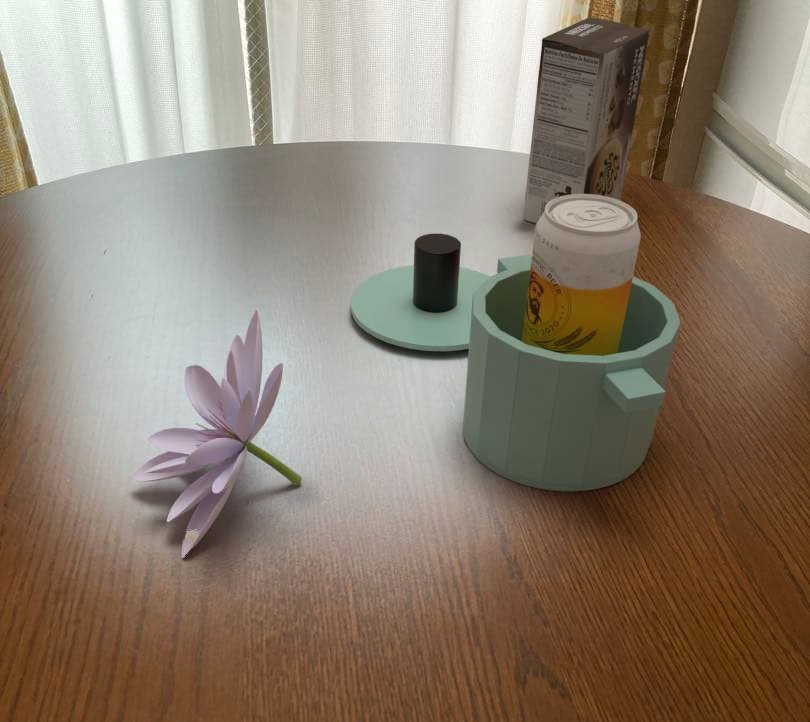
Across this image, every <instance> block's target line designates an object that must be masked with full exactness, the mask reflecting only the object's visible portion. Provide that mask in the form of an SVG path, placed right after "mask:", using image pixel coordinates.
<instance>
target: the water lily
mask: <svg viewBox="0 0 810 722" xmlns="http://www.w3.org/2000/svg"><path fill="white" fill-rule="evenodd" d="M260 318H261V317H260V314H259V310H258V308H256V309H255V311H254V313H253V315H252V317H251V319H250V321H249V325H248V327H247V331H246V333H245V339H244V341H243V339H242V337H241V335H238V334H236V335H235V336H234V338H233V340H232V342H231V344H230V347H229V350H228V353H227V356H226V360H225V365H224V374H223V376H222V377H221V382H218V380H217V379H216V378H215V376H214V375H212V374H211V373H210V372H209V371H208V370H207V369H205V368H204V367H203V366H201V365H198V364H194V365H188V366H186V367H185V371H184V387H185V392H186V396H187V398H188V401H189V402H190V404H191V406H192V407H193V408H194V410H195V411H196V413H197V414H198V415H199V416H200V417H201V418H202V419H203V420H204V421H205V422H206V423H207V424H209V425H210V426H211V427H213V428H208V427H206V426H204V425H203V424H200V423H197V422H195V425H197V426H199V427H202V428H203V429H196V428H189V427H188V428H187V427H174V428H173V427H172V428H166V429H162V430H159V431H157V432H154V433H153V434H151V435H150V436H149V437H147V441H148V443H149V444H151V445H152V446H153V447H155V448H157V449H159V450H162V451H165V452H163V453H161V454H159V455H157V456H155V457H153V458H152V459H150V460H148V461H147V462H145V463H144V464H142V465H141V466H140V467H139V468H138V469H137V470H136V471H135V472H134V473H133V474H132V476H131V480H132V481H134V482H144V483H145V482H160V481H165V480H166V481H167V480H170V479H175V478H180V477H183V476H187V475H190V474H192V473H196V472H199V471H201V470H203V469H206V468H207V467H209V466H212V465H214V464H217V463H218V464H217V465H216V466H214V467H213V468H211V469H210V470H208V471H207V472H205V473H204V474H203V475H202V476H200V477H198V478H197V479H196V480H195V481H193V482H191V484H189V485H188V486H187V488H186V489H184V490H183V491H182V493H181V494H179V496H178V498H176V500H175V502H174V503H173V504H172V506H171V509H170V510H169V512H168V515H167V518H166V523H170V522H172V521H174V520H176V519H177V518H179V517H180V516H182V515H183V514H185V513H187V512H188V511H190V510H191V509H192V508H194V507H195V506H196V505H197V504H198V505H197V506H196V508H195V510H194V511H193V514H192V516H191V518H190V520H189V522H188V525H187V527H186V530H185V532H187V531H191V530H195V529H197V530H195V531H197V532H198V531H199V532H198V533H199V536H198V538H197V539H196V541H195V542H194V544H193V546H192V547H191V542H190V541H189V540H183V539H182V544H181V559H184V558H185V557H186V556H187V555H188V554H189V553H188V551H190V550H191V549H192V548H193V549H194V548H195V547H196V546H197V545H198V544H199V542H200V541H201V540H202V539H203V537H204V536H205V535H206V534H207V532H208V531H209V530H210V528H211V526H212V525H213V524H214V522H215V521H216V520H217V518H218V516H219V514H220V513H221V511H222V510H223V508H224V506H225V504H226V502H227V501H228V498H229V497H230V494H231V493H232V490H233V488H234V486H235V483H236V481H237V479H238V477H239V476H240V474H241V472H242V470H243V468H244V467H245V464H246V461H247V457H248V452H249V453H250V454H252V455H253V456H255V457H256V458H257V459H259V460H261V461H262V462H264V463H265V464H266V465H268V466H269V467H271V468H272V469H274V470H275V471H276V472H278V473H279V474H281V475H282V476H283V477H284V478H286V480H288V481H290V483H292V484H293V485H294V486H297V487H298V486H299V485H300V484H301V482H302V479H303V478H302V477H301V476H300V475H299V474H298V473H297V472H296V471H294V470H293V469H291V468H290V467H289V466H288V465H286V464H284V462H282V461H281V460H279V459H277V458H276V457H275V456H273V455H272V454H270V453H269V452H267V451H265V450H264V449H262V448H260V447H259V446H257V445H255V444H254V443H253V442H251V441H252V440H253V439H254V438H255V437H256V436H257V435H258V433H259V432H260V431H261V430H262V428H263V427H264V425H265V424H266V422H267V420H268V419H269V417H270V415H271V413H272V411H273V408H274V406H275V403H276V400H277V398H278V396H279V391H280V388H281V384H282V379H283V371H284V363H282V362H281V363H278V364H277V365H276V366H275V367H274V368H273V369H272V371H271V372H270V374H269V375H268V377H267V380H266V381H265V383H264V386H263V390H262V394H261V398H260V393H261V386H262V385H261V384H262V376H263V375H262V374H263V339H262V338H263V335H262V334H263V333H262V327H261V319H260ZM220 383H221V384H220ZM259 398H260V399H259ZM259 400H260V401H259ZM294 483H295V484H294ZM189 529H191V530H189ZM194 546H195V547H194ZM190 547H191V549H190ZM193 549H192V550H193ZM192 550H191V551H192ZM191 551H190V552H191ZM187 553H188V554H187ZM186 554H187V555H186ZM185 555H186V556H185Z"/></svg>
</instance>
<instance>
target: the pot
mask: <svg viewBox="0 0 810 722" xmlns="http://www.w3.org/2000/svg"><path fill="white" fill-rule="evenodd" d="M531 261H532V255H530V254H523V255H517V256H516V255H515V256H509V257H503V258H498V259H497V266H496V267H497V268H496V273H495V274H494V275H490V276H491V277H489V278H487V279H486V280H485V282H484V283H483V284H482V285H481V286H480V287H479V288H478V289H477V290H476V291H475V292H474V294H473V299H472V312H471V325H470V338H469V349H468V353H467V365H466V377H465V378H466V379H465V391H464V402H463V403H464V404H463V405H464V406H463V422H462V423H463V425H462V432H463V437H464V441H465V443H466V446H468V449H469V452H471V453H472V455H473V456H474V457H475V458H476V459H477V460H478V461H479V462H480V463H481V464H482V465H483V466H485V467H486V468H487V469H489V470H490V471H492V472H494V473H495V474H497V475H499V476H500V477H503V478H505V479H507V480H510V481H511V482H514V483H517V484H520V485H523V486H527V487H530V488H534V489H539V490H545V491H554V492H585V491H586V492H587V491H592V490H599V489H602V488H607V487H610V486H612V485H615V484H617V483H619V482H621V481H623V480H625V479H627V478H629V477H630V476H631V475H632V474H635V472H636V471H637V470H638V469H639V468H640V467H641V466H642V464H643V463H644V461H645V460H646V457H647V454H648V451H649V448H650V446H651V444H652V442H653V441H652V440H653V436H654V433H655V428H656V425H657V420H658V417H659V413H660V409H661V407H663V404H664V400H665V397H666V390H665V388H666V384H667V381H668V376H669V372H670V368H671V364H672V360H673V356H674V354H675V353H674V352H675V349H676V344H677V340H678V336H679V332H680V330H681V329H680V328H681V321H680V317H679V313H678V311H677V308H676V305H675V303H674V302H673V301H672V300H671V299H670V298H669V297H668V296H667V295H666V294H664V293H663V292H662V291H660V290H659V289H658V288H657V287H656V286H655V285H653V284H651V283H649V282H647V281H645V280H643V279H640V278H638V277H636V276H634V275H633V279H632V284H631V289H630V294H629V299H628V303H627V308H626V313H625V318H624V323H623V328H622V333H621V338H620V343H619V348H618V353H616V354H611V355H605V356H595V355H575V354H561V353H557V352H553V351H549V350H545V349H541V348H537V347H533V346H530V345H527V344H525V343H523V342H522V336H523V327H524V319H525V311H526V302H527V294H528V286H529V278H530V269H531Z"/></svg>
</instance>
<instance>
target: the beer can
mask: <svg viewBox="0 0 810 722" xmlns="http://www.w3.org/2000/svg"><path fill="white" fill-rule="evenodd" d="M639 226H640V225H639V223H638V213H637V211H636V209H635V208H633V206H631V205H629V204H628V203H626V202H624V201H622V200H621V201H620V200H617V199H614V198H610V197H606V196H601V195H593V194H572V195H565V196H561V197H557V198H555V199H553V200H551V201H550V202H548V203H547V205H546V206H545V211H544V213H543V214H542V216H541V217H540V219H539V221H538V222H537V224H536V223H535V228H534V237H533V245H532V253H531V257H532V261H531V269H530V278H529V286H528V294H527V302H526V311H525V319H524V327H523V336H522V342H523V343H525V344H527V345H530V346H533V347H537V348H541V349H545V350H549V351H553V352H557V353H561V354H575V355H595V356H605V355H611V354H616V353H618V348H619V343H620V338H621V333H622V328H623V323H624V318H625V313H626V308H627V303H628V299H629V294H630V289H631V284H632V279H633V276H634V274H635V268H636V264H637V259H638V254H639V248H640V244H641V239H642V233H641V230H640V227H639Z"/></svg>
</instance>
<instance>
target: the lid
mask: <svg viewBox="0 0 810 722" xmlns="http://www.w3.org/2000/svg"><path fill="white" fill-rule="evenodd" d="M413 245H414V247H413V264H412V265H405V266H399V267H395V268H391V269H390V268H389V269H387V270H383V271H381V272H379V273H375V274H373V275H372V276H370V277H368V278H366V279H365V280H363V282H361V283H359V285H358V286H357V287H356V288H355V289H354V291H353V292H352V294H351V299H350V311H351V315H352V318H353V319H354V321H355V322H356V324H357V325H358V326H359V327H360V329H362V330H363V331H365V332H366V333H368V334H369V335H370V336H372V337H374V338H376V339H377V340H379V341H383V342H385V343H388V344H391V345H395V346H397V347H401V348H405V349H410V350H417V351H427V352H455V351H463V350H469V338H470V325H471V312H472V299H473V294H474V292H475V291H476V290H477V289H478V288H479V287H480V286H481V285H482V284H483V283H484V282H485V280H486V279H487V278H489V277H491V276H492V275H488V274H486V273H483V272H480V271H477V270H474V269H470V268H466V267H461V266H460V265H461V253H462V251H461V250H462V243H461V241H460V240H459V239H458V238H457V237H455V236H453V235H451V234H445V233H436V232H435V233H427V234H423V235H420V236H419V237H417V238H416V239H415V240H414V243H413Z"/></svg>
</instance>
